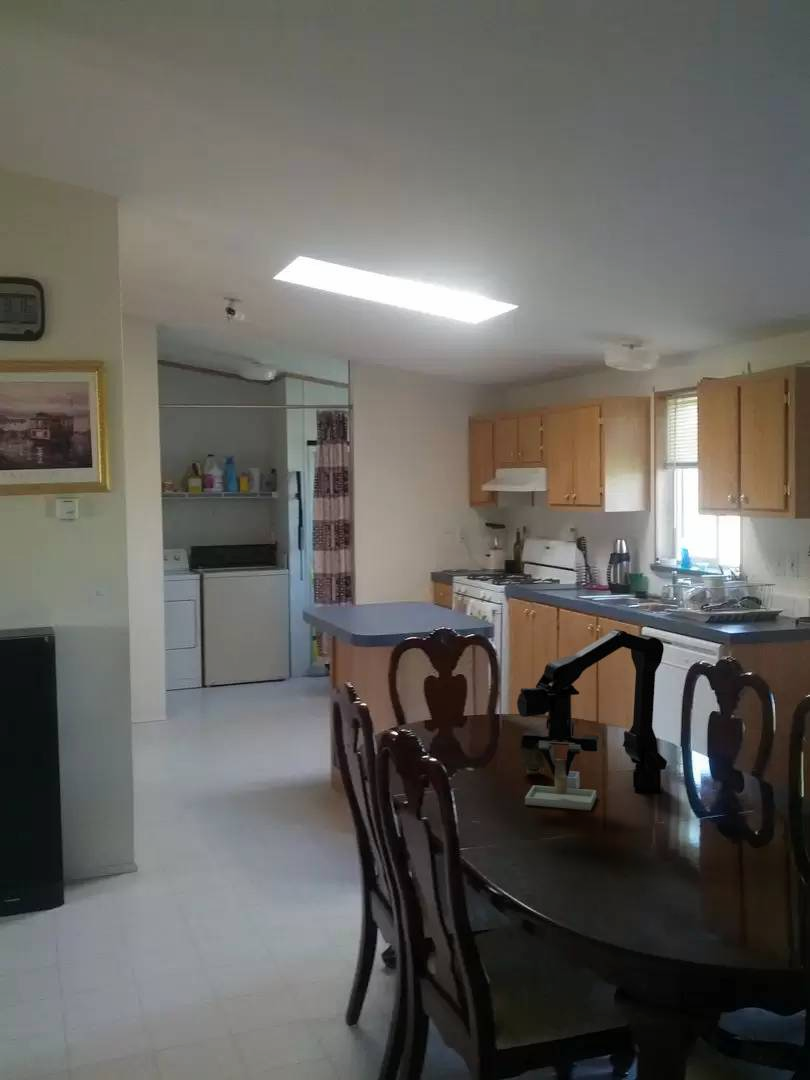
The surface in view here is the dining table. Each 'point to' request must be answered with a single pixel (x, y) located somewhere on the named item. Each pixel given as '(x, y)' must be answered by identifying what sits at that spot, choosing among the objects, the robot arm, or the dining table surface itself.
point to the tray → (561, 798)
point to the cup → (532, 759)
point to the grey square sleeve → (573, 780)
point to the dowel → (560, 776)
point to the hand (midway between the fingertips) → (560, 775)
